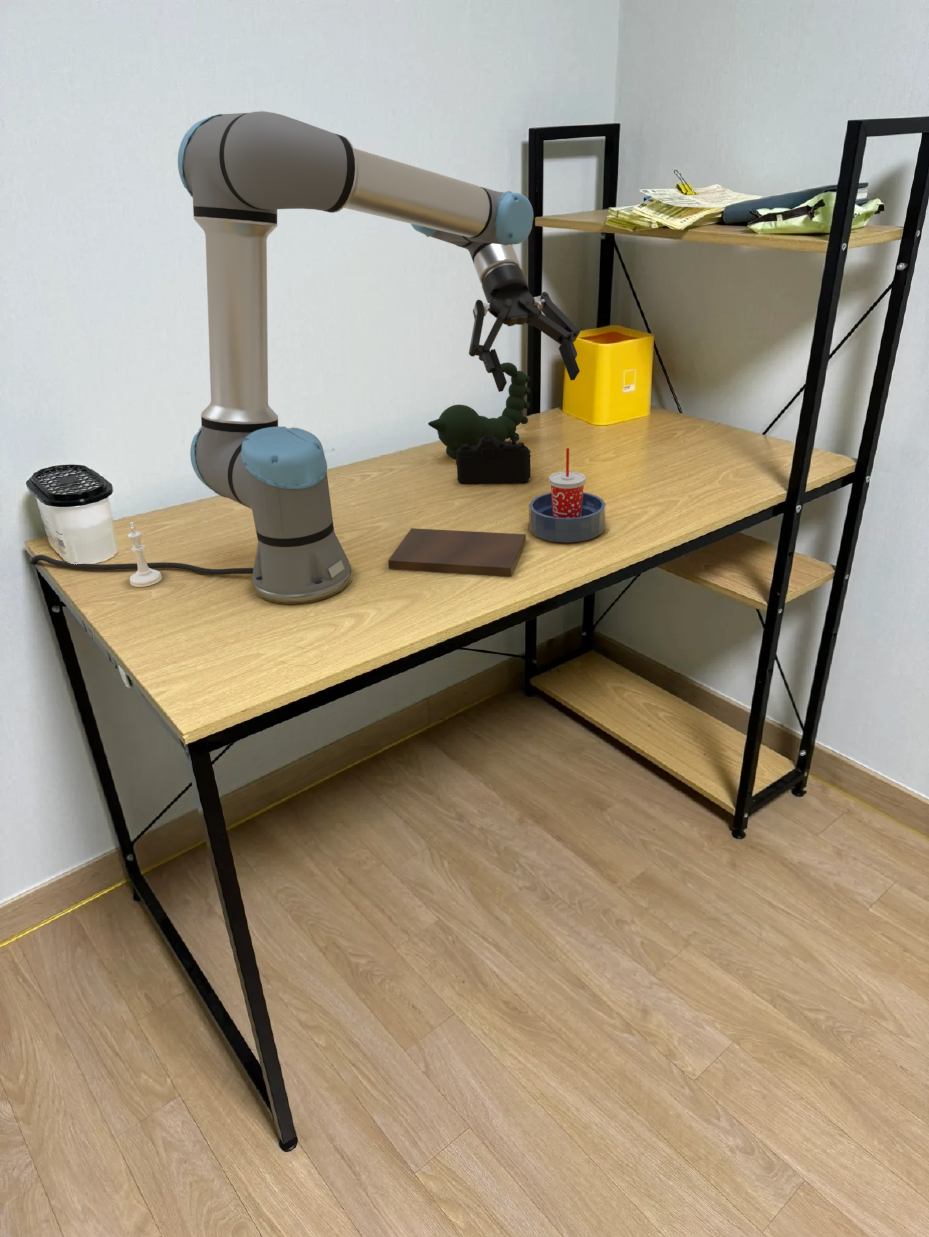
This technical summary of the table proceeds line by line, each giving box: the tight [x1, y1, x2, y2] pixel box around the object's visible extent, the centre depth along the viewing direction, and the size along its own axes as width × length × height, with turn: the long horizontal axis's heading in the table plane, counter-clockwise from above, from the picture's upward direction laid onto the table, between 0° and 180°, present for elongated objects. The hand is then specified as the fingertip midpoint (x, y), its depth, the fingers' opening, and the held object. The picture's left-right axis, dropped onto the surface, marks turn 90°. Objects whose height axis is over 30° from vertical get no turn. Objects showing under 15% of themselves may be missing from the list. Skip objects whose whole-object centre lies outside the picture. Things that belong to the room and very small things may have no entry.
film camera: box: [454, 435, 532, 485], centre depth 173 cm, size 15×10×9 cm, turn 84°
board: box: [387, 527, 527, 577], centre depth 143 cm, size 20×13×2 cm, turn 77°
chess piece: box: [127, 521, 163, 588], centre depth 138 cm, size 5×5×10 cm
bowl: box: [528, 491, 607, 543], centre depth 149 cm, size 13×13×4 cm
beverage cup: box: [548, 447, 587, 518], centre depth 147 cm, size 6×6×14 cm
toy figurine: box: [427, 362, 531, 460], centre depth 184 cm, size 9×19×25 cm
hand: (539, 381), depth 148 cm, fingers open, 13 cm apart
